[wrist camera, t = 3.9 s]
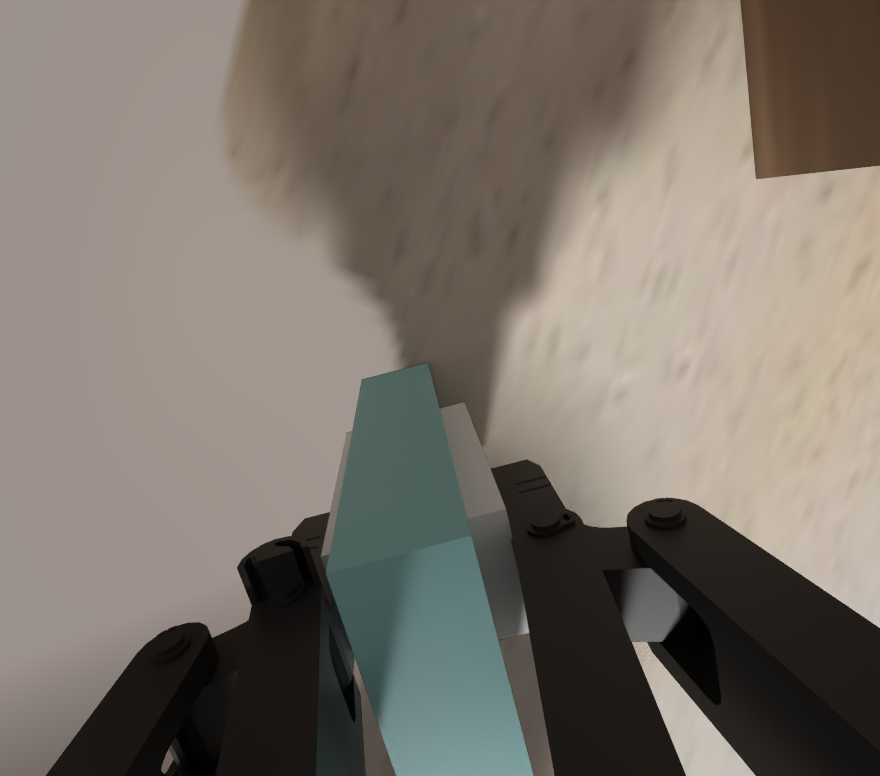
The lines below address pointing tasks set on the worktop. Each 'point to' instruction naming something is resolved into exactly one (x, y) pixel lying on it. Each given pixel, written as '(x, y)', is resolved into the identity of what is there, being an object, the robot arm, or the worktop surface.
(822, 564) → the worktop surface
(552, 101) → the worktop surface
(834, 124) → the tile
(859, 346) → the worktop surface
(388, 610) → the tile
